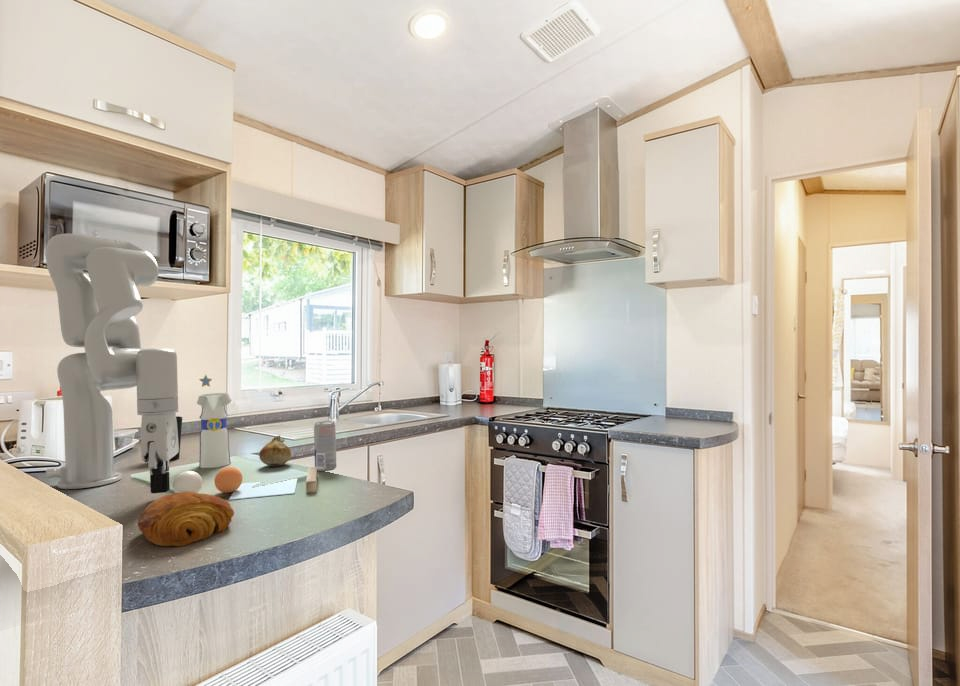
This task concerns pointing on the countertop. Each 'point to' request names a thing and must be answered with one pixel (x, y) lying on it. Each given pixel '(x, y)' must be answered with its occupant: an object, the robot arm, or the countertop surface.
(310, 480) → the stop rail
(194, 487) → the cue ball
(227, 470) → the brown egg
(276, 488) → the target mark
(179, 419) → the cup
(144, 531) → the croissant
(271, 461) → the onion
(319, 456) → the energy drink
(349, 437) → the countertop surface
